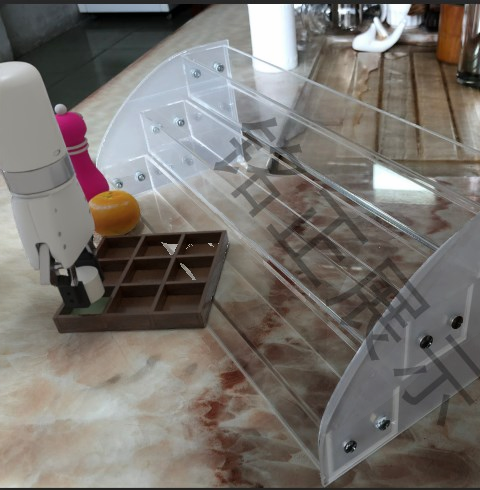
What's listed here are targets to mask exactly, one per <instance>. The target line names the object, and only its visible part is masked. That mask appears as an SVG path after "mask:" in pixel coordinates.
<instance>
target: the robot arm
mask: <svg viewBox="0 0 480 490" xmlns="http://www.w3.org/2000/svg"><path fill="white" fill-rule="evenodd" d="M55 115H56V114H55V110H54V108H53V105H52V103H51V99H50V98H49V94H48V91H47V88H46V85H45V82H44V81H43V78H42V75H41V73H40V71H39V70H38V69H37V68H36V66H34V65H32V64H31V63H28V62H25V61H6V62H0V173H1V176H2V178H3V180H4V183H5V185H6V187H7V190H8V191H9V194H10V195H11V198H10V205H11V212H12V216H13V220H14V223H15V227H16V230H17V234H18V237H19V239H20V242H21V245H22V248H23V250H24V253H25V255H26V258H27V260H28V262H29V265H30V267H31V268H32V270H34V271H39V283H40V285H41V286H51V287H52V286H53V287H54V288H57V290H58V292H59V295H60V297H61V299H62V302H64V304H65V306H66V308H68V309H75V308H89V307H90V305H91V302H90V300H89V297H88V295H87V292H86V290H85V287H84V284H83V282H82V281H78V277H77V272H76V268H78V267H82V266H93V267H95V268H96V269H97V270H98V272H99V275H100V278H101V281H102V282H103V281H104V280H105V277H104V274H103V272H102V269H101V266H100V263H99V261H98V258H97V257H94V256H96V254H97V249H96V247H97V246H96V245H95V243H94V239H95V234H94V233H95V231H94V230H95V224H94V220H93V216H92V213H91V210H90V207H89V205H88V202H87V200H86V197H85V195H84V193H83V190H82V188H81V186H80V184H79V182H78V180H77V178H76V173H75V171H74V168H73V165H72V162H71V159H70V157H69V154H68V151H67V148H66V145H65V142H64V139H63V137H62V134H61V131H60V128H59V125H58V122H57V120H56V117H55ZM60 270H66V273H68V276H66V275H65V274H60V273H61V272H60Z"/></svg>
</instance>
